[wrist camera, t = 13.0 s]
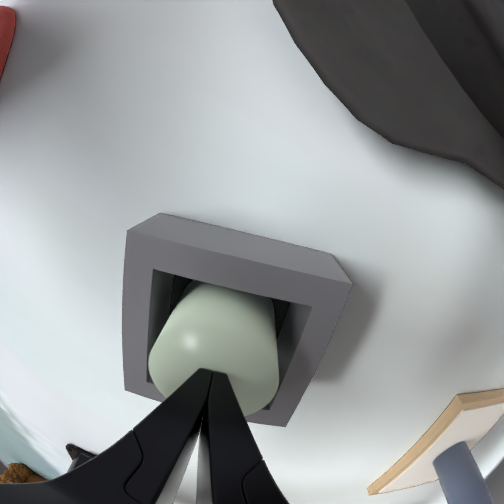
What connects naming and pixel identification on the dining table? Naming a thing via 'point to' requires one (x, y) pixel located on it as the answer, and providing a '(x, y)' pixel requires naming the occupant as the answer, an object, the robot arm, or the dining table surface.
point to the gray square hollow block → (235, 277)
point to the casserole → (413, 70)
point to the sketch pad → (443, 439)
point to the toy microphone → (461, 476)
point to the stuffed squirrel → (19, 475)
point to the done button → (219, 343)
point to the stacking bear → (6, 33)
